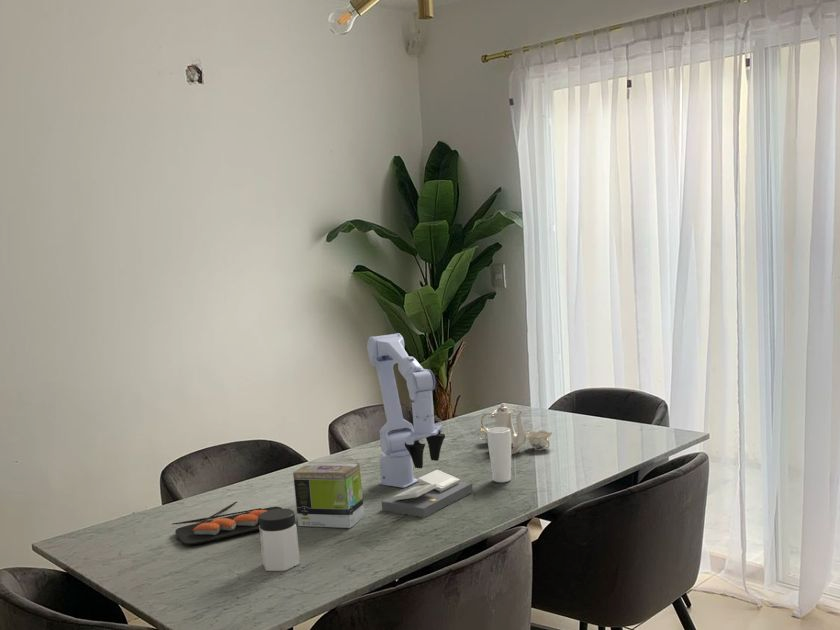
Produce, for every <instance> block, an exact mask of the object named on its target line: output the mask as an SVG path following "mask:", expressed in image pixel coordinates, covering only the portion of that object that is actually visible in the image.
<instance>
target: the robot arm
mask: <svg viewBox="0 0 840 630" xmlns="http://www.w3.org/2000/svg"><path fill="white" fill-rule="evenodd" d="M366 350H367V354H368V360H369V363H370V366H372V367H375V370H376V374H377V378H378V382H379V389H380V392H381V398H382V404H383V409H384V414H385V419H386V422H385V423H384V425H383V426H382V427H381V428H380V430H379V438H380V439H379V445H380V449H381V451H382V455H381V456H380V460H379V471H380V481H379V485H382V486H389V487H390V486H391V487H396V488H402V489H405V488H407V487H409V486H412V485H413V484H416V483H419V482H418V478H415V477H414V468H415V469H423V465H424V452H425V451H424V450H425V446H426V443H421V442H420V441H421V440H426V442H427V444H428V445H427V446H428V450H429V458H430V460H431V461H434V462H438V461H439V460H440V454H441V449H442V445H443V442H444V441H445V438H446V436H445V435H446V434H445V433H443V432H444V427H443V425H442V424H435V416H434V415H435V414H434V412H435V411H434V400H433V391H434V390H435V388H436V378H435V374H434V373H433V371H432V370H431V369H426V368H424V367H423V366H422V365H421V363H419V362H418V360H417V359H416V358H415V357H414V356H409V354H408V352H407V351H406V350H405V340H404V337H403V335H401V333H399V332H397V333H391V334H384V335H377V336H373V335H372V336H369V338H368V340H367V346H366ZM395 364H397V368H398V372H399V373H400V375H401V376H402V377H403V378H404V380H405V381H406V388H407V390H408V394H409V395H408V396H409V400H411V410H412V411H411V412H412V420H413V421H412V423H411V422H409V421H408V420H406V419H404V416H403V412H402V411H403V410H402V406H401V402H400V397H399V391H398V387H397V382H396V376H395V371H394V365H395ZM413 466H414V467H413Z"/></svg>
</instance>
